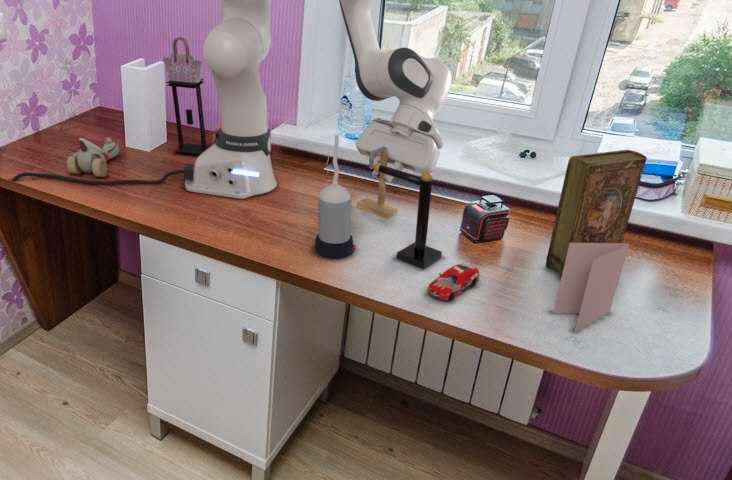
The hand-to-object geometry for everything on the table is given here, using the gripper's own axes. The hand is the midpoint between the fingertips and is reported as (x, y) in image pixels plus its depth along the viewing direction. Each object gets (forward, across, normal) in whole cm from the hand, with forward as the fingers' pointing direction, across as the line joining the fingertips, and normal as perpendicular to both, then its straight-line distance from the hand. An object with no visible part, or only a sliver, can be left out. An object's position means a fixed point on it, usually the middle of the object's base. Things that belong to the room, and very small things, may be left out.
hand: (381, 178), depth 146 cm
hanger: (+7, 0, +4) cm, 8 cm away
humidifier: (+20, +1, -5) cm, 21 cm away
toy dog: (+25, -73, -9) cm, 78 cm away
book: (-1, +46, +16) cm, 49 cm away
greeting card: (+13, +55, +2) cm, 57 cm away
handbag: (+7, -67, +9) cm, 68 cm away
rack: (+14, +12, +2) cm, 18 cm away
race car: (+18, +30, -2) cm, 35 cm away
